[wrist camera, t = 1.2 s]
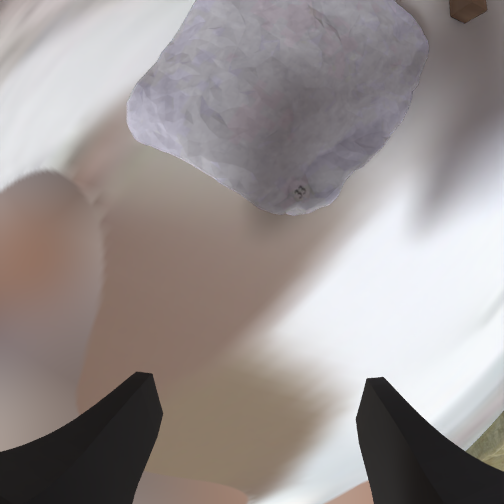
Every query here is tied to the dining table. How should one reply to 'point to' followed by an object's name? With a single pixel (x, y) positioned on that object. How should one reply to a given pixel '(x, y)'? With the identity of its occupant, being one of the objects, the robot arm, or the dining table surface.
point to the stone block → (281, 94)
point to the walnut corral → (467, 9)
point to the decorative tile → (491, 445)
